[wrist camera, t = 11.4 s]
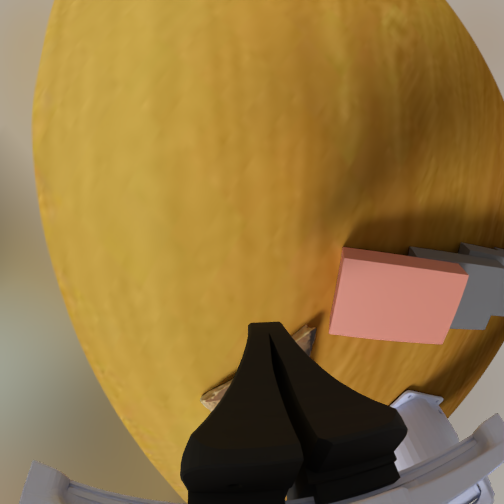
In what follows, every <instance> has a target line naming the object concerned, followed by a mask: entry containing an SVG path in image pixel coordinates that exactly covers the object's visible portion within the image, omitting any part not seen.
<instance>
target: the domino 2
mask: <svg viewBox="0 0 504 504" xmlns="http://www.w3.org/2000/svg"><path fill="white" fill-rule="evenodd" d="M458 254H464V255H471V256H477V257H483V258H489V259H495V260H497V261H499V262H500V263H501V264H502V265H503V266H504V251H499V250H495V249H490V248H486V247H481V246H477V245H472V244H467V243H462V242H461V244H460V248H459V252H458ZM491 315H494V316H504V282H503V285H502V288H501V291H500V293H499V296H498V299H497V301H496V304H495V307H494V309H493V312H492V314H491Z"/></svg>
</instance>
